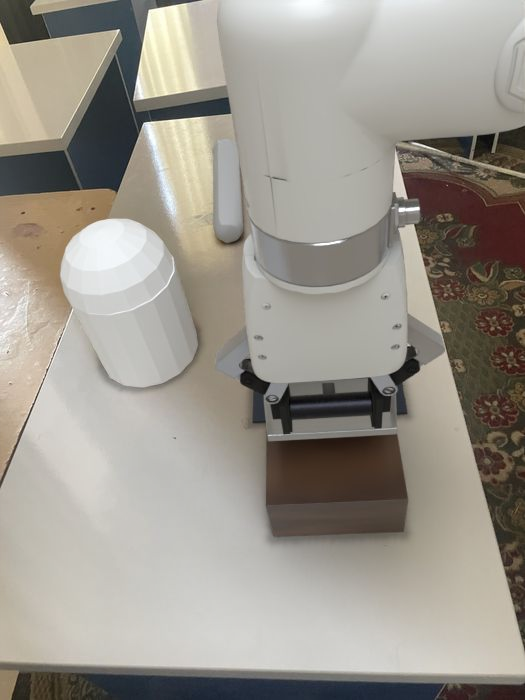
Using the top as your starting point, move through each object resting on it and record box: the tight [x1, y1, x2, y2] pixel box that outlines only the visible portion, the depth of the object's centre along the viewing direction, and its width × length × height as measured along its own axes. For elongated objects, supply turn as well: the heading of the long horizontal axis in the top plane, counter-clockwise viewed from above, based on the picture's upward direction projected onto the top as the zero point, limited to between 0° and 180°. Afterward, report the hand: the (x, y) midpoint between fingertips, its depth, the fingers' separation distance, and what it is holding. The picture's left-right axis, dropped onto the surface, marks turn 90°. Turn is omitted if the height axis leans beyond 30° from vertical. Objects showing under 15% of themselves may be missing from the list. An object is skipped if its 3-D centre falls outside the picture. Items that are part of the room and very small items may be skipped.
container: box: [59, 218, 199, 389], centre depth 70 cm, size 14×13×20 cm
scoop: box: [264, 378, 398, 441], centre depth 51 cm, size 19×11×6 cm
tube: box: [211, 138, 245, 244], centre depth 96 cm, size 5×5×25 cm
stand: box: [265, 433, 409, 538], centre depth 59 cm, size 14×13×7 cm
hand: (330, 414), depth 44 cm, fingers closed on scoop, 6 cm apart
